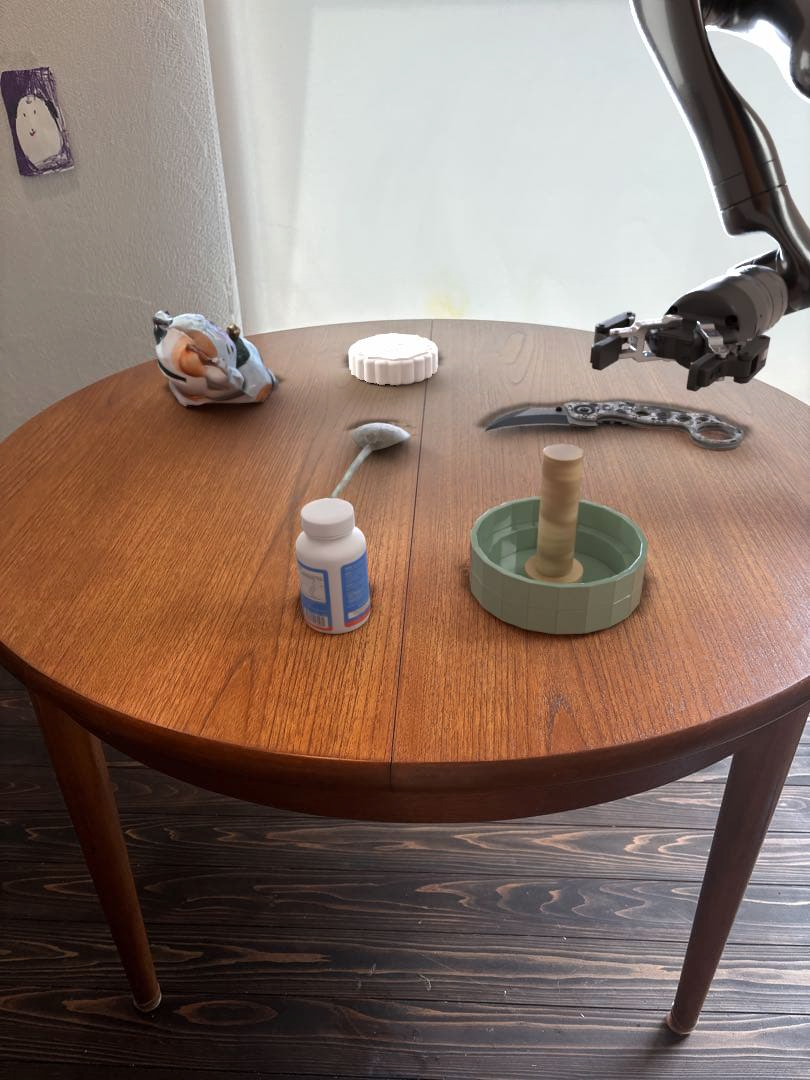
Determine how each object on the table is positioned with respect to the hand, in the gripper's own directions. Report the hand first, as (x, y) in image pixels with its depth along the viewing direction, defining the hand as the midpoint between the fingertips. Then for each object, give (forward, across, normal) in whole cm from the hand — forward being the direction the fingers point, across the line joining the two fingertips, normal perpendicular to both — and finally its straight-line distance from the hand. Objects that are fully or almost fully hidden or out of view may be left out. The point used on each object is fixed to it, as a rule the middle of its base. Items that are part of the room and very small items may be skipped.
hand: (642, 368), depth 72 cm
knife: (-21, -12, +16) cm, 29 cm away
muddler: (+12, -1, +15) cm, 19 cm away
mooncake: (-21, -44, +16) cm, 52 cm away
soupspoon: (+6, -28, +16) cm, 32 cm away
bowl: (+12, 0, +16) cm, 20 cm away
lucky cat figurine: (0, -56, +16) cm, 58 cm away
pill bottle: (+25, -12, +16) cm, 32 cm away
